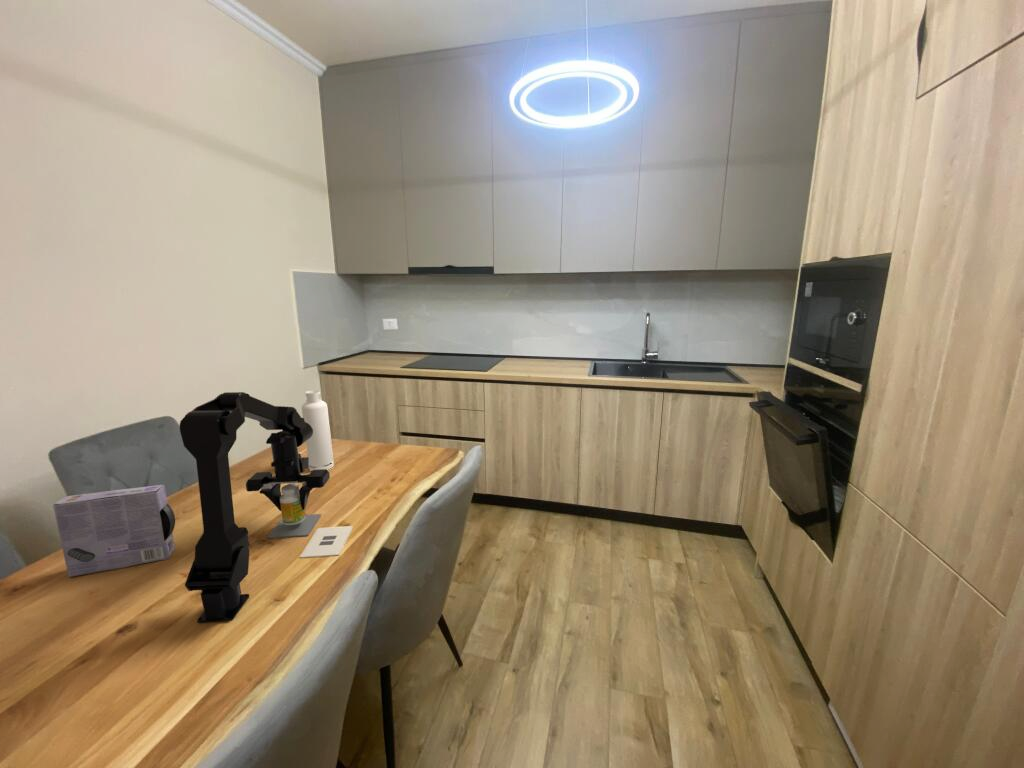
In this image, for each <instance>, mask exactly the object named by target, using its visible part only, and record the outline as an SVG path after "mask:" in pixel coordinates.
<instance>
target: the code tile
mask: <svg viewBox="0 0 1024 768" xmlns="http://www.w3.org/2000/svg"><path fill="white" fill-rule="evenodd" d="M353 528H354V526H353V525H347V526H332V527H331V526H330V527H329V526H328V527H318V528H317V529H316V530H315V532H314V534H313V535H312V537H311V538H310V540H309V542H308V543H307V544H306V546H305V548H304V549H303V551H302V553H301V554H300V556H299V559H303V558H304V559H306V558H307V559H308V558H319V557H320V558H321V557H334V556H340V555H341V553H342V551H343V549H344V546H345V545H346V542H347V541H348V538H349V536H350V534H351V533H352V530H353Z"/></svg>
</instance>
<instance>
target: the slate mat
mask: <svg viewBox="0 0 1024 768" xmlns="http://www.w3.org/2000/svg"><path fill="white" fill-rule="evenodd" d="M321 516H322V513H317V514H305V519H304V520H303V521H302V522H300V523H298V524H295V525H285V524H284V523H283V520H282V518H281V519H280V520H279V521H278V523H277V524H276V525H275V526H274V528H273V529H272V530H271V531H270V532H269V534H268V535H267V537H266V539H269V540H270V539H282V538H285V539H286V538H298V537H308V536H309V535H310V534H311V532H312V531H313V529H314V527H315V526H316V524H317V523H318V522H319V520H320V518H321Z"/></svg>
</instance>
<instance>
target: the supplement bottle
mask: <svg viewBox="0 0 1024 768" xmlns="http://www.w3.org/2000/svg"><path fill="white" fill-rule="evenodd" d="M299 489H300V487H299V483H287V484H286V485H283V486H282V487H280V491H281V497H280V506H281V511H280V513H281V517H282V518H281V519H282V520H283V523H284V524H285V525H295V524H298V523H300V522H302V521H303V520H304V519H305V515H306V508H305V509H304V510H303V509H302V506H301V501H300V495H299Z"/></svg>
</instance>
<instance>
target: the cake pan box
mask: <svg viewBox="0 0 1024 768" xmlns="http://www.w3.org/2000/svg"><path fill="white" fill-rule="evenodd" d="M53 512H54V515H55V520H56V524H57V529H58V533H59V539H60V544H61V548H62V553H63V556H64V561H65V567H66V571H67V572H66V573H67V575H68V578H73V577H78V576H81V575H88V574H89V575H90V574H94V573H99V572H105V571H112V570H118V569H119V570H120V569H124V568H128V567H129V568H130V567H133V566H137V565H141V564H142V565H143V564H146V563H151V562H153V563H154V562H158V561H165V560H169V558H170V557H171V555H172V554H173V552H174V551H175V550H176V545H175V541H174V535H173V534H174V533H173V532H174V529H175V525H176V516H175V512H174V510H173V509H172V507H171V506H170V504H169V503H168V499H167V491H166V487H165V484H155V485H148V486H140V487H132V488H131V487H130V488H124V489H115V490H114V489H113V490H105V491H98V492H91V493H84V494H83V493H82V494H81V493H80V494H75V495H73V494H72V495H66V496H64V497H62V498H61V499H59V500H57V501H56V502H55V503H53Z"/></svg>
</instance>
